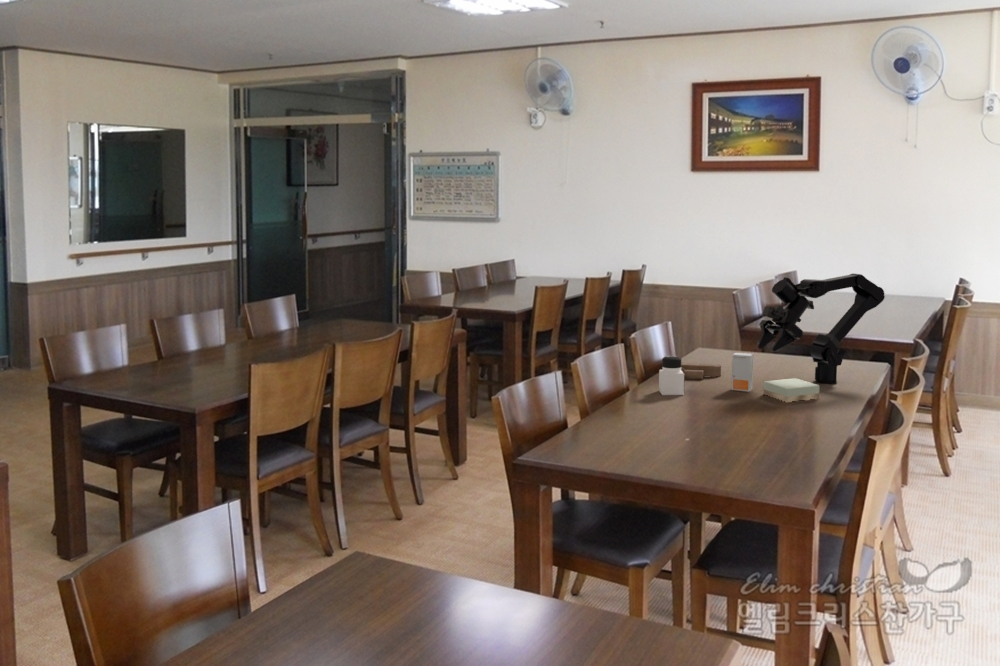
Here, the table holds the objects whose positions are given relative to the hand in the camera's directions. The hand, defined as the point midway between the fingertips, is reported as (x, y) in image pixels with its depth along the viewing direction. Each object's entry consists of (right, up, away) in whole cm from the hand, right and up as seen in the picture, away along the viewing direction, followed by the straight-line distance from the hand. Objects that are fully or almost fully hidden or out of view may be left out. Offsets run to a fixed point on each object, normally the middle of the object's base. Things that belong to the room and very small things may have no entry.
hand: (765, 349), depth 309 cm
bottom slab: (+5, -16, -11) cm, 20 cm away
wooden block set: (-20, -11, +17) cm, 29 cm away
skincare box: (-8, -14, -1) cm, 16 cm away
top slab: (+5, -13, -12) cm, 18 cm away
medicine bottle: (-32, -14, -4) cm, 35 cm away
